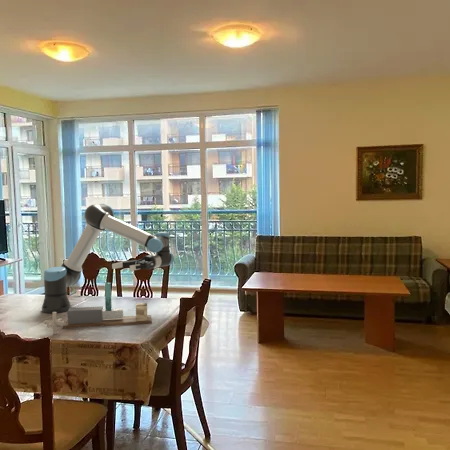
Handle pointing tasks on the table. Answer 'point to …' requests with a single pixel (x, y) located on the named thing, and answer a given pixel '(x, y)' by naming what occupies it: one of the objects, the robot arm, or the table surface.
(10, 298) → the table surface
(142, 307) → the socket block
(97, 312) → the outer sleeve
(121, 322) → the base board
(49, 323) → the pipe connector
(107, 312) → the bar with teal cylinder
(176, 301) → the table surface
